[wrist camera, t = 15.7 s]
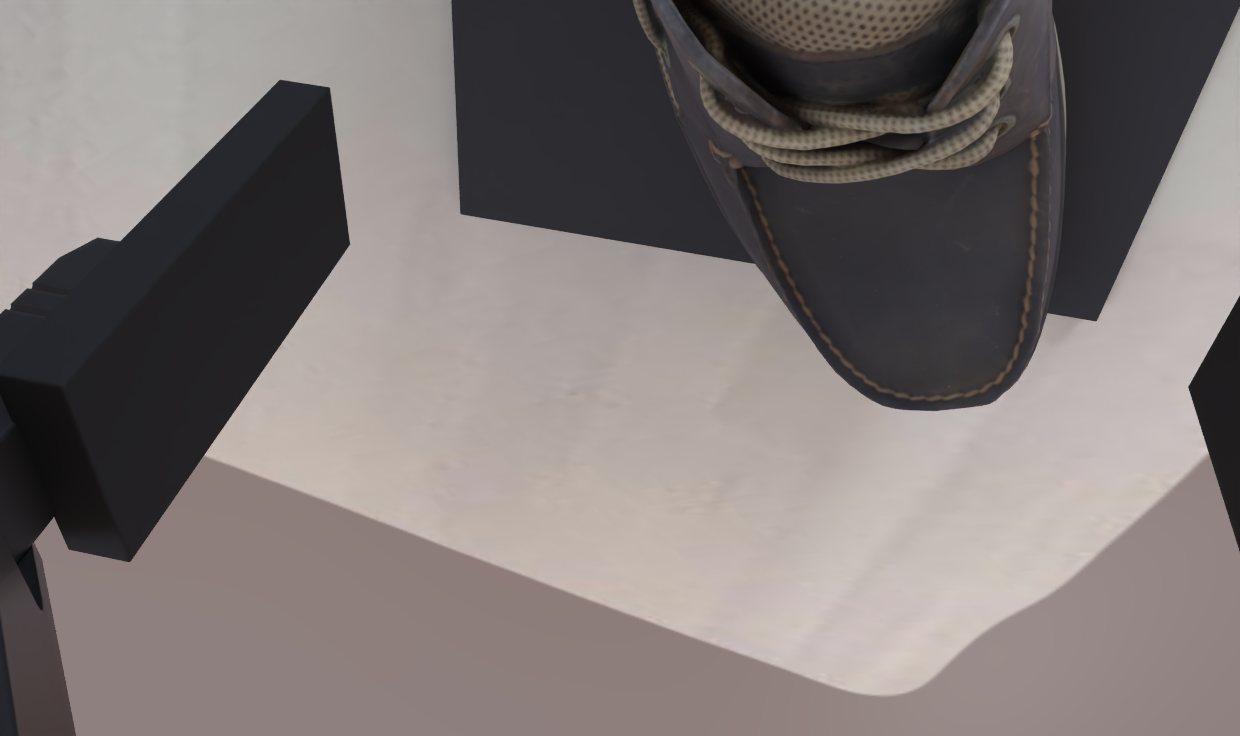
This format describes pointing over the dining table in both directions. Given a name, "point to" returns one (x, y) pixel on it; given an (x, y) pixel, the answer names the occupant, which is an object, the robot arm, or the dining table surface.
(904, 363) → the boat shoe
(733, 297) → the dining table surface
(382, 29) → the dining table surface
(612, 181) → the boot mat
